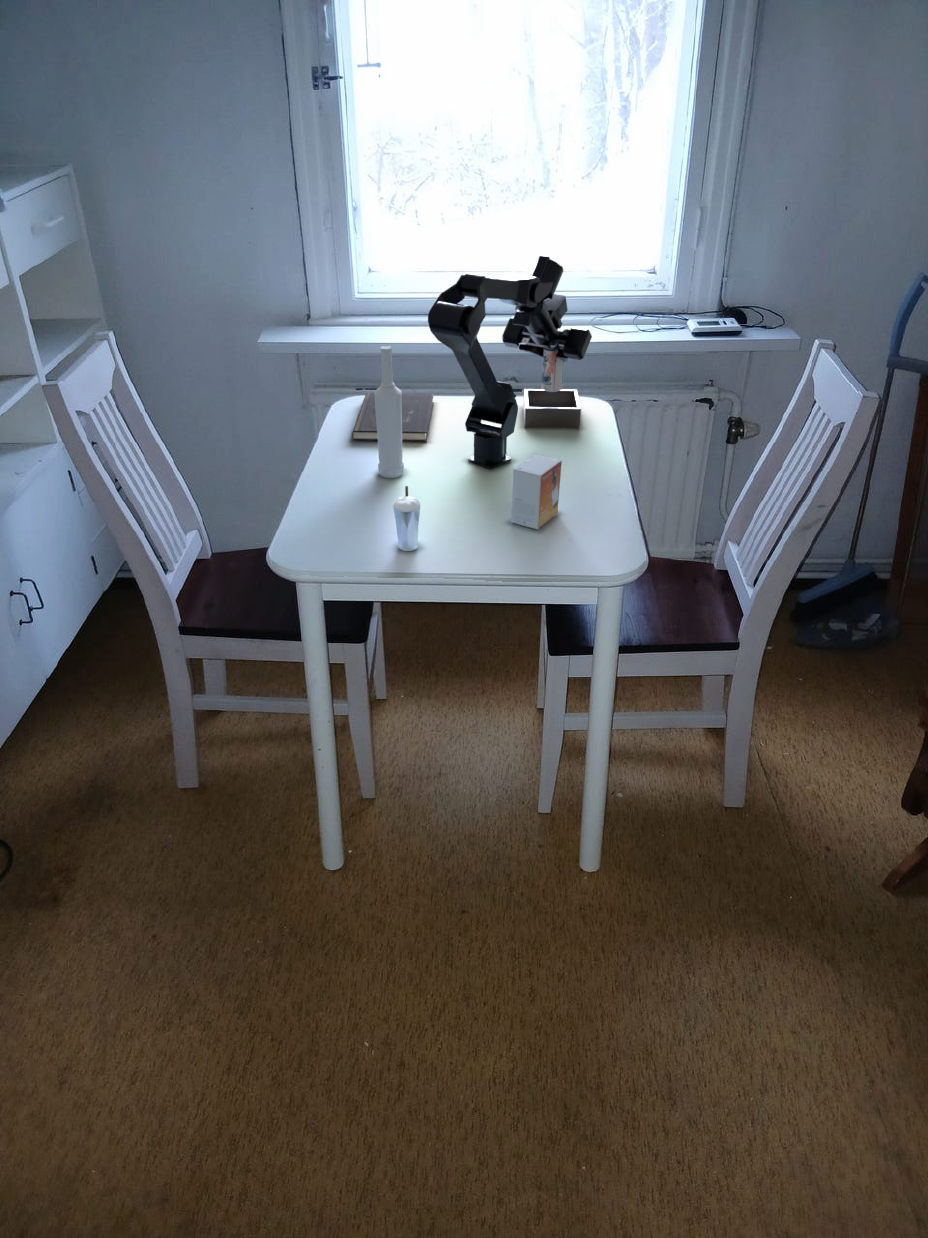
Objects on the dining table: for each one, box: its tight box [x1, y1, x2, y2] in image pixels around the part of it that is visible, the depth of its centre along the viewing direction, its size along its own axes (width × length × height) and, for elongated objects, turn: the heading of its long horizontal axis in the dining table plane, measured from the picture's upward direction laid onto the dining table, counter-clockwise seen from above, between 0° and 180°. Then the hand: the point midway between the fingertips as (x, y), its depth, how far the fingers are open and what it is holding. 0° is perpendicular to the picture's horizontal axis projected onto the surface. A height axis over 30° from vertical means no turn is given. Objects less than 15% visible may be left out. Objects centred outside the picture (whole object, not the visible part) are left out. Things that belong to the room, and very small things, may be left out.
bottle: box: [373, 345, 405, 479], centre depth 175 cm, size 5×5×25 cm
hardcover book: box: [351, 392, 435, 443], centre depth 204 cm, size 16×23×2 cm
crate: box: [522, 388, 582, 429], centre depth 206 cm, size 12×12×4 cm
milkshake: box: [392, 485, 421, 552], centre depth 155 cm, size 5×5×10 cm
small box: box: [510, 454, 562, 530], centre depth 163 cm, size 8×6×10 cm
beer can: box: [540, 343, 565, 392], centre depth 200 cm, size 5×5×12 cm
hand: (556, 358), depth 200 cm, fingers closed on beer can, 5 cm apart
